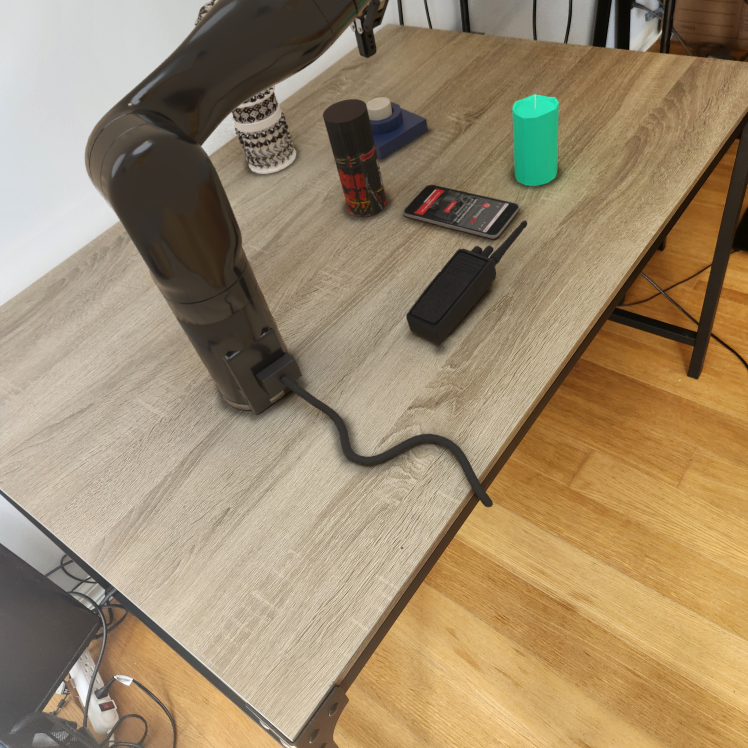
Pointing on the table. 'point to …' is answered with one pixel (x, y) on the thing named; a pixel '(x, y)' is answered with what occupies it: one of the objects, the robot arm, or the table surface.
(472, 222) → the smartphone
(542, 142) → the candle
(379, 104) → the button
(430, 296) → the walkie-talkie
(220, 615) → the table surface
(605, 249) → the table surface
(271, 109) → the decorative candle
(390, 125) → the dispenser
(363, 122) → the deodorant
